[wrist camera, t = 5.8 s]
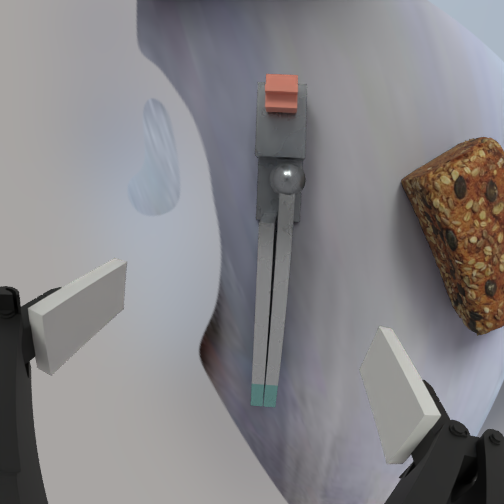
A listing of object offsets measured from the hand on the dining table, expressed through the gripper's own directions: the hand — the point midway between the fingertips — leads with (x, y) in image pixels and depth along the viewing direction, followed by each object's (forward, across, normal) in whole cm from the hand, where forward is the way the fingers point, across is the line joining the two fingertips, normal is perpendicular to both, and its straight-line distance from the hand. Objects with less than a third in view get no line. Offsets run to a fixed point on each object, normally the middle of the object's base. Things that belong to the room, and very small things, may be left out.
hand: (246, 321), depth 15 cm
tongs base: (+18, +1, 0) cm, 18 cm away
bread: (+18, +22, +7) cm, 29 cm away
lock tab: (+14, -2, +14) cm, 20 cm away
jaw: (+17, +2, -4) cm, 18 cm away
